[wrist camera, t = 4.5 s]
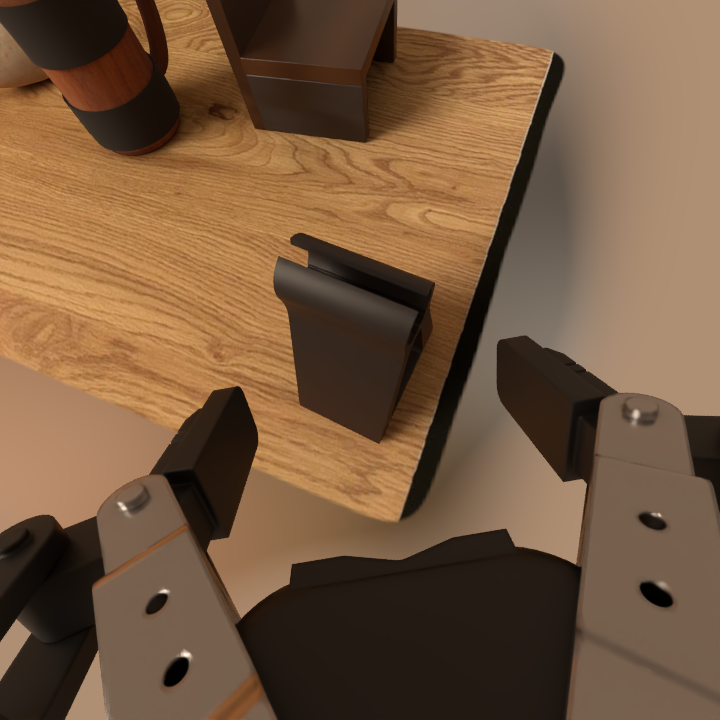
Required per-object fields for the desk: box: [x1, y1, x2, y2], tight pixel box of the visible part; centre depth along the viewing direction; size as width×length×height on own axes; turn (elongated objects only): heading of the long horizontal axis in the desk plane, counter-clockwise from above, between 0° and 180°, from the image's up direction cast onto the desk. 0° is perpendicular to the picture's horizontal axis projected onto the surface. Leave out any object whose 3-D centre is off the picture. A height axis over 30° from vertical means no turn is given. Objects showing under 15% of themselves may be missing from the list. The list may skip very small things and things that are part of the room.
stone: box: [0, 23, 49, 88], centre depth 36 cm, size 6×6×12 cm
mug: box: [0, 0, 180, 156], centre depth 29 cm, size 9×12×12 cm
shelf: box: [206, 0, 397, 142], centre depth 29 cm, size 11×12×10 cm
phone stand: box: [274, 233, 435, 444], centre depth 19 cm, size 9×6×12 cm, turn 153°
